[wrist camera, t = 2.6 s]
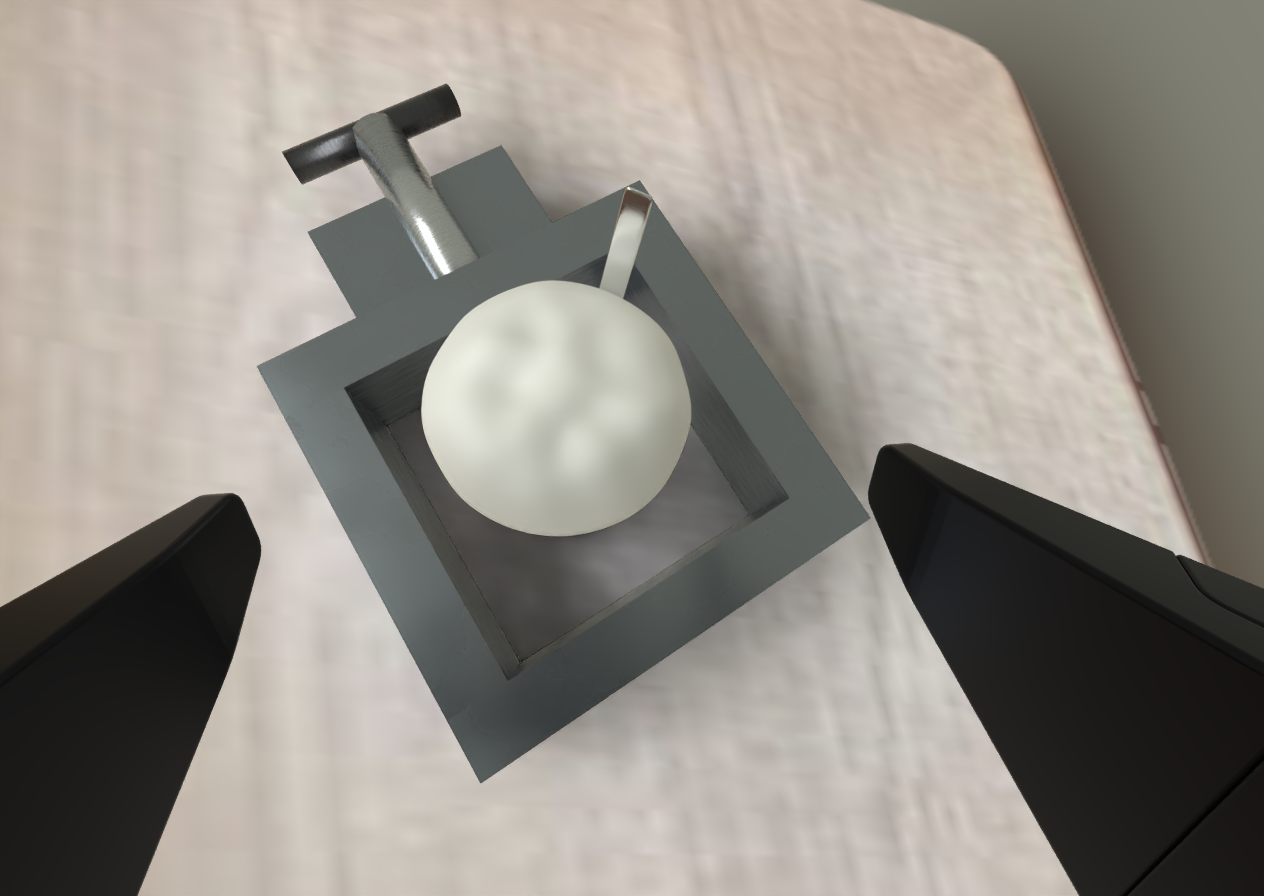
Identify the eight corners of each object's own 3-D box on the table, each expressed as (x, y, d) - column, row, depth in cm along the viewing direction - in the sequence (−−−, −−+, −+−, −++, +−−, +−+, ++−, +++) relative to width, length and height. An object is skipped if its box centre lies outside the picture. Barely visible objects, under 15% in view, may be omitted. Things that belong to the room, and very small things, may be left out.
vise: (816, 530, 19) (870, 517, 15) (499, 743, 16) (480, 783, 13) (538, 113, 21) (532, 22, 18) (229, 250, 19) (154, 175, 15)
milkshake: (672, 423, 19) (777, 250, 9) (603, 584, 18) (641, 577, 8) (539, 365, 19) (507, 131, 9) (461, 521, 18) (326, 438, 8)
